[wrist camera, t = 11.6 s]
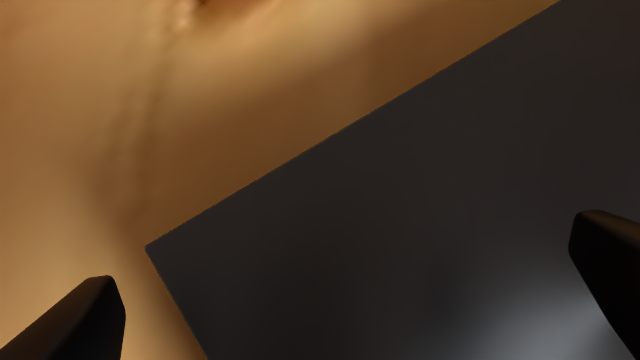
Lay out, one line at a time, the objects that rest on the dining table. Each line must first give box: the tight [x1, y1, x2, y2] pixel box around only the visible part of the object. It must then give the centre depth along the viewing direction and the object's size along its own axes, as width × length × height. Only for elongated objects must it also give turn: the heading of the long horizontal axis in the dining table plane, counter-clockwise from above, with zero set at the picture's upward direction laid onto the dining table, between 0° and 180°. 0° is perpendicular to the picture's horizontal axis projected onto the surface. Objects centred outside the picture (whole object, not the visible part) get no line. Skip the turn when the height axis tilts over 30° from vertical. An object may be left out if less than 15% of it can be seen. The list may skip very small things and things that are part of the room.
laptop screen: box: [144, 0, 640, 360], centre depth 14 cm, size 17×21×1 cm
